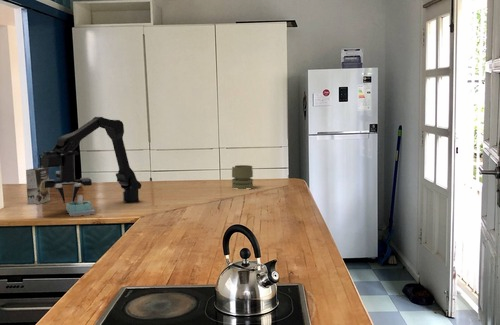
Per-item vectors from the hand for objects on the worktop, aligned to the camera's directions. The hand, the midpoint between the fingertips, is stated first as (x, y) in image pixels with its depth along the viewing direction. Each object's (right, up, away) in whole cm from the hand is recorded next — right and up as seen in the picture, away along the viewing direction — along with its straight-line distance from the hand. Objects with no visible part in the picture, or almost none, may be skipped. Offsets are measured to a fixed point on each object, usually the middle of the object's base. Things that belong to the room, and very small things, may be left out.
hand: (68, 202), depth 221 cm
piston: (+73, +3, +63) cm, 97 cm away
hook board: (+4, -4, +2) cm, 7 cm away
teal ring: (+4, -3, +2) cm, 5 cm away
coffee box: (-23, -2, +26) cm, 35 cm away
